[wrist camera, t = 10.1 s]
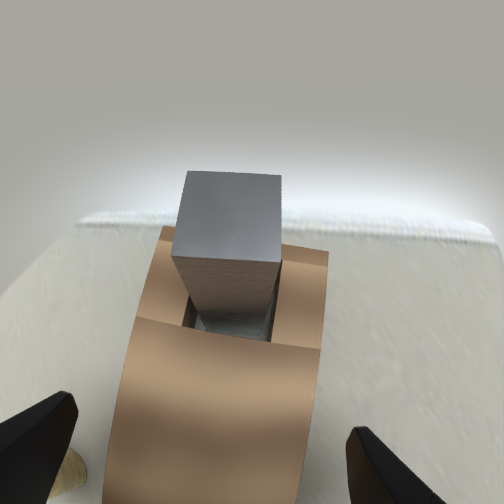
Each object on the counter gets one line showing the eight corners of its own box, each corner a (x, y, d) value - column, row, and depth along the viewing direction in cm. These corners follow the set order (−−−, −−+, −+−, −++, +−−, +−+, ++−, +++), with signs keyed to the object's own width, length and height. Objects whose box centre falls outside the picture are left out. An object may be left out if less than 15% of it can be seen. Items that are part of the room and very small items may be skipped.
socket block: (277, 521, 15) (284, 544, 11) (123, 489, 16) (101, 504, 12) (315, 274, 23) (328, 251, 20) (174, 251, 24) (163, 225, 20)
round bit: (78, 496, 15) (-1, 529, 6) (44, 468, 15) (-42, 483, 6) (92, 464, 16) (9, 490, 7) (56, 436, 17) (-34, 441, 8)
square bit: (259, 335, 21) (281, 262, 10) (208, 331, 21) (170, 255, 10) (261, 287, 23) (281, 175, 12) (212, 284, 23) (187, 170, 12)
